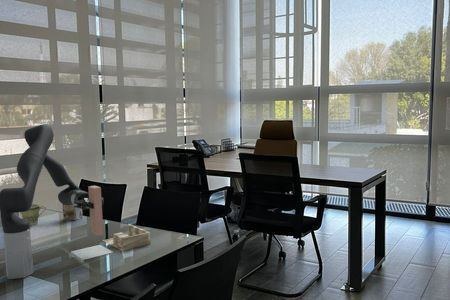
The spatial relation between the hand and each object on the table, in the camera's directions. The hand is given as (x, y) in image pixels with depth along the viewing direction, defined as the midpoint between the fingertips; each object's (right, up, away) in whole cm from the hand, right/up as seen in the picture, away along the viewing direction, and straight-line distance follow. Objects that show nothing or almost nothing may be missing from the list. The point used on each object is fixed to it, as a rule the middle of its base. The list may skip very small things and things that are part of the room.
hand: (97, 205), depth 180 cm
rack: (+9, -20, +16) cm, 27 cm away
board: (-1, -12, +2) cm, 13 cm away
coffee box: (-34, -17, +68) cm, 78 cm away
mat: (-3, -22, +3) cm, 22 cm away
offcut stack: (+7, -19, +12) cm, 23 cm away
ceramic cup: (-53, -18, +60) cm, 82 cm away
